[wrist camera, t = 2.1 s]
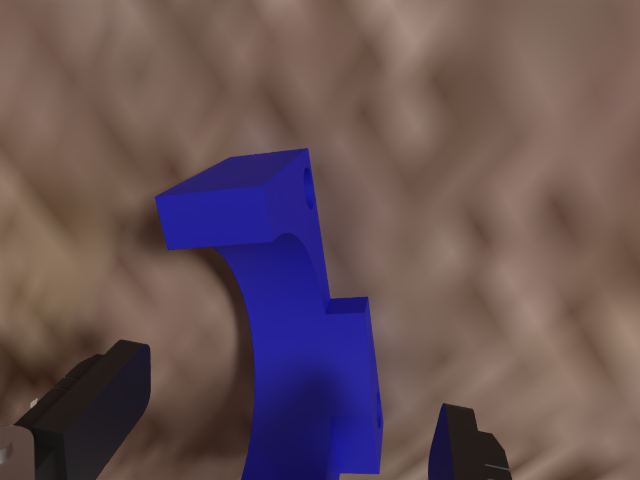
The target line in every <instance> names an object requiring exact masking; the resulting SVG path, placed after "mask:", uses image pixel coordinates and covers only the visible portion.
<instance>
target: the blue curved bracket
mask: <svg viewBox="0 0 640 480" xmlns="http://www.w3.org/2000/svg"><path fill="white" fill-rule="evenodd" d="M155 200H156V204H157V208H158V212H159V216H160V220H161V224H162V228H163V232H164V236H165V240H166V244H167V248H168V250H175V249H187V248H200V247H213V248H214V249H215V250H217V251H218V252H219V253H220V254H221V255H222V256H223V258H224V259H225V260H226V262H227V263H228V264H229V266H230V268H231V269H232V271H233V273H234V275H235V277H236V279H237V281H238V284H239V286H240V289H241V291H242V294H243V298H244V301H245V304H246V308H247V312H248V317H249V322H250V327H251V333H252V341H253V351H254V367H255V394H254V411H253V421H252V430H251V437H250V443H249V448H248V454H247V458H246V463H245V467H244V471H243V474H242V478H241V480H339V476H340V473H354V474H379V471H380V459H381V446H382V434H383V416H382V408H381V400H380V392H379V384H378V375H377V367H376V359H375V351H374V342H373V334H372V326H371V318H370V310H369V301H368V297H354V298H336V299H330V293H329V286H328V280H327V273H326V266H325V259H324V253H323V246H322V239H321V232H320V226H319V219H318V212H317V205H316V199H315V192H314V185H313V178H312V172H311V165H310V158H309V151H308V148H305V149H297V150H288V151H280V152H271V153H263V154H255V155H246V156H238V157H230V158H228V159H226V160H224V161H222V162H220V163H218V164H216V165H214V166H213V167H211V168H209V169H207V170H205V171H203V172H201V173H199V174H197V175H195V176H193V177H192V178H190V179H188V180H186V181H184V182H182V183H180V184H178V185H176V186H174V187H173V188H171V189H169V190H167V191H165V192H163V193H161V194H159V195H157V196H155Z"/></svg>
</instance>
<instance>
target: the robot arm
mask: <svg viewBox="0 0 640 480" xmlns="http://www.w3.org/2000/svg"><path fill="white" fill-rule="evenodd" d="M150 392H151V363H150V347H149V345H147V344H142V343H137V342H132V341H127V340H119V341H118V342H117V343H116V344H115V345H114V346H113V347H112V348H111V349H110V350H109V351H108V352H107V353H106V354H105V355H100V354H96V355H94V356H92V357H90V358H88V359H86V360H84V361H82V362H80V363H78V364H77V365H76V366H75V367H74V368H73V369H72V370H71V371H70V372H69V373H68V374H67V375H66V376H65V379H64V378H63V379H62V380H61V381H59V382H58V383H57V384H56V385H55V387H54V389H51V390H50V391H49V392H48V393H47V394H46V395H45V396H44V397H43V398H42V399H40V400H39V401H38V402H37V403H36V404H35V405H34V406H33V407H32V408H31V409H30V410H29V411H28V412H27V413H26V414H25V415H24V416H23V417H21V418H20V419H19V420H18V421H17V422H16V423H15V424H14V425H13V426H1V427H0V480H95V479H96V478H97V477H98V475H99V474H100V473H101V471H102V470H103V468H104V467H105V466H106V464H107V463H108V462H109V460H110V459H111V457H112V456H113V455H114V453H115V452H116V451H117V449H118V448H119V446H120V445H121V444H122V442H123V441H124V439H125V438H126V437H127V435H128V434H129V433H130V431H131V430H132V428H133V427H134V426H135V424H136V423H137V422H138V420H139V419H140V417H141V416H142V415H143V413H144V411H145V409H146V407H147V405H148V402H149V398H150ZM428 480H512V477H511V474H510V472H509V466H508V462H507V458H506V454H505V451H504V449H503V448H502V446H501V445H500V444H499V442H498V441H497V440H496V438H495V437H494V436H493V434H491V433H486V432H481V431H478V429H477V424H476V419H475V414H474V411H473V409H471V408H465V407H460V406H455V405H450V404H445V403H444V404H443V405H442V407H441V410H440V414H439V418H438V422H437V426H436V430H435V434H434V438H433V441H432V445H431V450H430V455H429V464H428Z"/></svg>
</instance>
